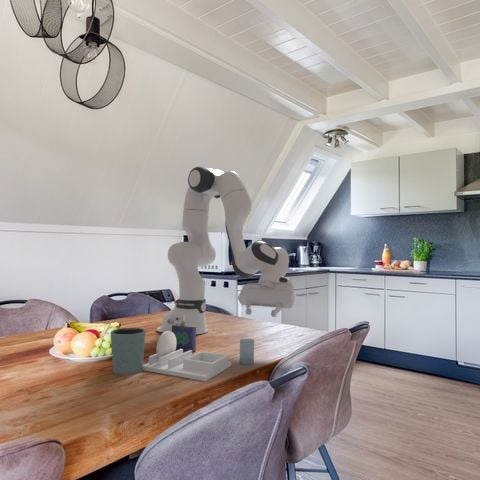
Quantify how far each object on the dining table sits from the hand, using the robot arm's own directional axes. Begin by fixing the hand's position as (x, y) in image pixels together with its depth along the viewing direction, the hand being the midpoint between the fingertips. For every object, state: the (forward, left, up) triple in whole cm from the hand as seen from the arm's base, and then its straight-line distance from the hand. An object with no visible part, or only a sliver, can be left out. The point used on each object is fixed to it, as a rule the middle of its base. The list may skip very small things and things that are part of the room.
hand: (260, 314), depth 135 cm
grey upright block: (0, -11, -14) cm, 18 cm away
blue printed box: (-26, -8, -14) cm, 31 cm away
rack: (-14, -24, -14) cm, 31 cm away
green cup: (-29, -34, -14) cm, 47 cm away
